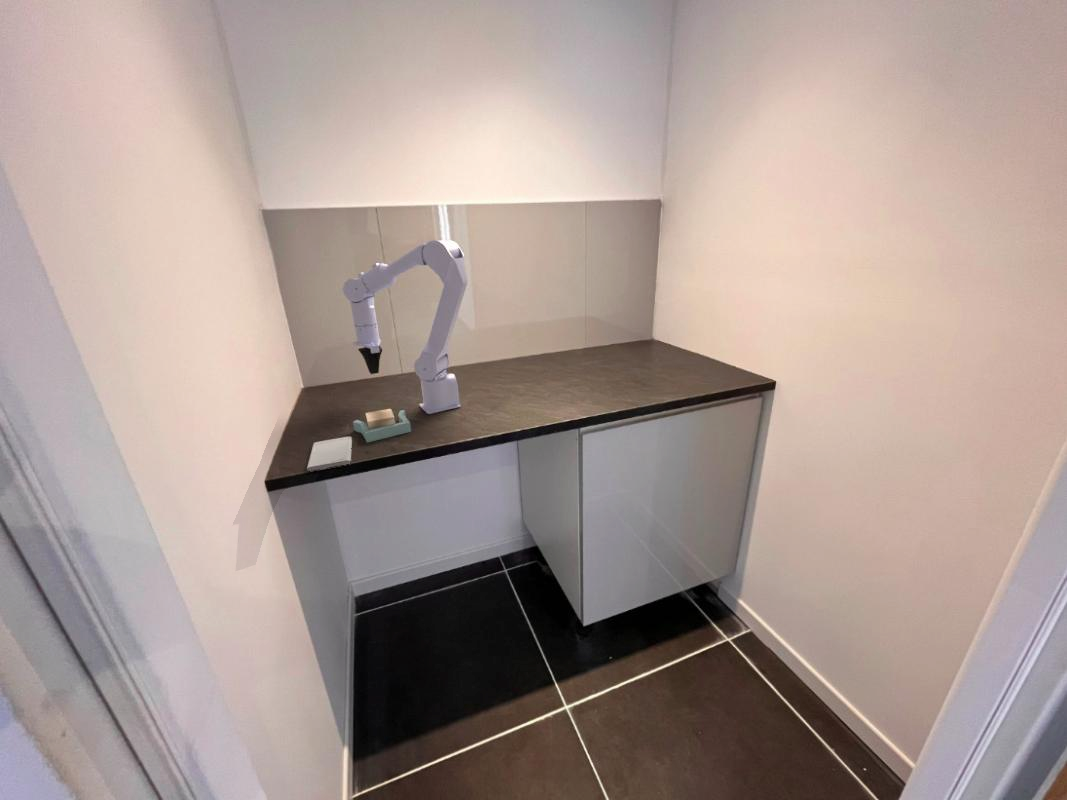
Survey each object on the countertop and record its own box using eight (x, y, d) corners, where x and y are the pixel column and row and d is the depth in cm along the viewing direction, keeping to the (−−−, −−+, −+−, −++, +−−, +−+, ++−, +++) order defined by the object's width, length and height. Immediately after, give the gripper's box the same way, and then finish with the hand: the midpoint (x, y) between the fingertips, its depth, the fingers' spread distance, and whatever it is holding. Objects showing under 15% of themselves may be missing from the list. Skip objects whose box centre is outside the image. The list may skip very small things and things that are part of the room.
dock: (405, 418, 110) (404, 409, 109) (416, 430, 103) (414, 421, 102) (354, 430, 104) (352, 420, 103) (361, 444, 96) (359, 434, 96)
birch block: (393, 424, 107) (390, 408, 105) (396, 433, 102) (394, 416, 100) (368, 429, 104) (365, 413, 103) (370, 439, 99) (367, 421, 98)
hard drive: (349, 459, 87) (351, 435, 98) (306, 467, 85) (312, 441, 96) (351, 466, 88) (352, 441, 99) (308, 474, 85) (314, 448, 96)
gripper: (345, 322, 115) (354, 369, 120) (355, 330, 104) (364, 382, 109) (371, 319, 119) (379, 365, 124) (384, 327, 107) (391, 377, 112)
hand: (374, 373), depth 117 cm, fingers closed
